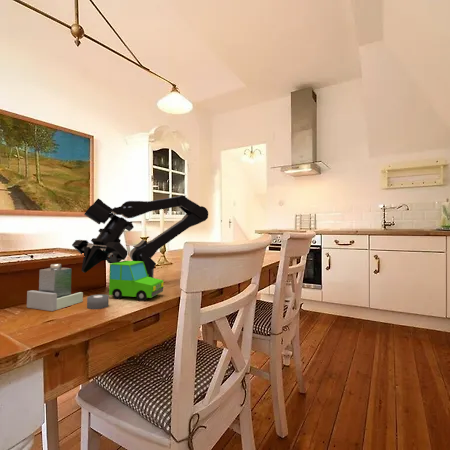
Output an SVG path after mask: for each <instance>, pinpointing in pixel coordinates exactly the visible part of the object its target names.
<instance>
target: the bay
mask: <svg viewBox="0 0 450 450" xmlns="http://www.w3.org/2000/svg"><path fill="white" fill-rule="evenodd" d="M83 295H84V292H82V291H79V292H75V293H71V295H68V296H64V297H60V298H57V293H50V292H42V291H39V290H33V289H32V290H27V291H26V308H27V309H35V310H42V311H48V312H54V311H56V310H57V311H58V310H61V309H64V308H66V307H70V306H72V305H76V304H79V303H82V302H83V301H84V296H83Z"/></svg>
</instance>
